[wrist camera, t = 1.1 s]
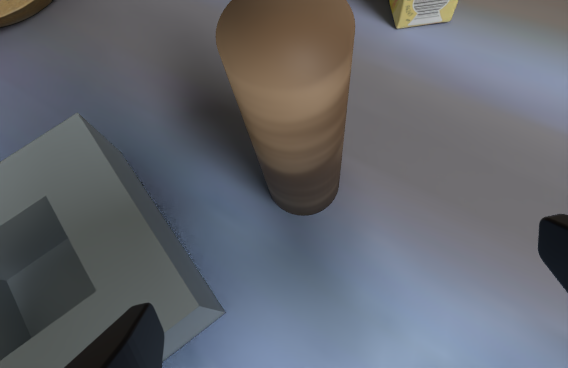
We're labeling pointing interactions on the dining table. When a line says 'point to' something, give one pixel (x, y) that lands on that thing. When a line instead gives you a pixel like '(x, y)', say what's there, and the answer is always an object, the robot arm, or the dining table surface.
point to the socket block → (86, 252)
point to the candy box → (421, 12)
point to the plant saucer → (19, 10)
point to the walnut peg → (292, 91)
